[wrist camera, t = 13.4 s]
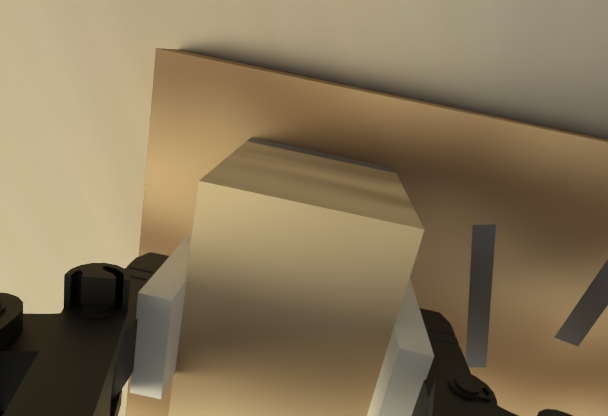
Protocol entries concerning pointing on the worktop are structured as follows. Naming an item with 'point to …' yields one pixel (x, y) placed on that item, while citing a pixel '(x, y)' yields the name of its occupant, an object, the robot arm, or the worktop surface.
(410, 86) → the worktop surface
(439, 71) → the worktop surface
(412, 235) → the block
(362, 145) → the board
